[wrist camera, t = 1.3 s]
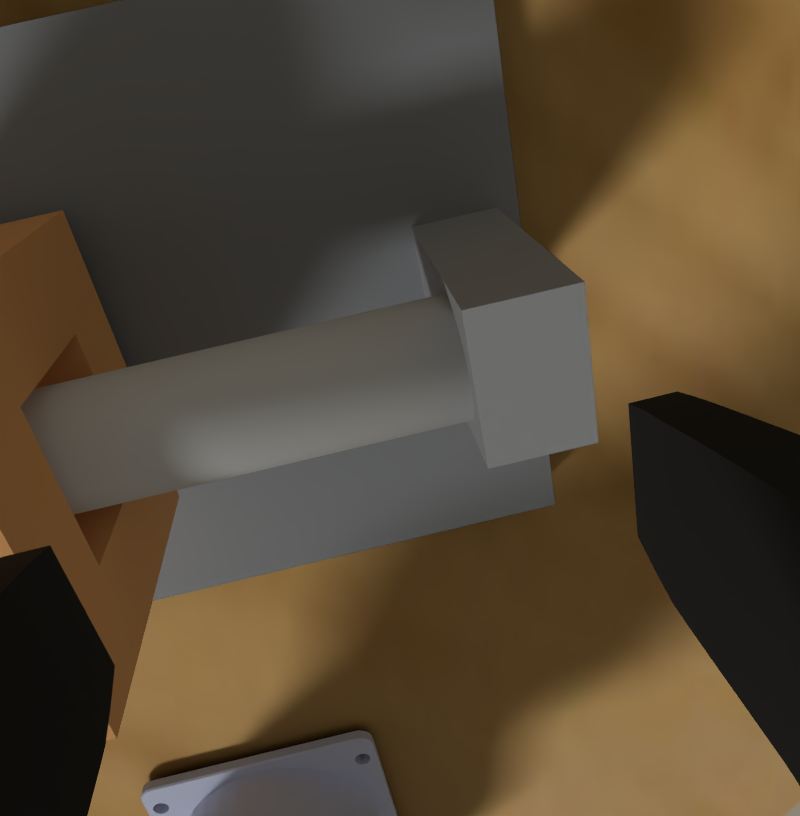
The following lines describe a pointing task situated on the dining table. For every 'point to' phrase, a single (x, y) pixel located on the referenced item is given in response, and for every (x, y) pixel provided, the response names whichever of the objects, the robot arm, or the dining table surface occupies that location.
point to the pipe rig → (294, 274)
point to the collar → (26, 464)
